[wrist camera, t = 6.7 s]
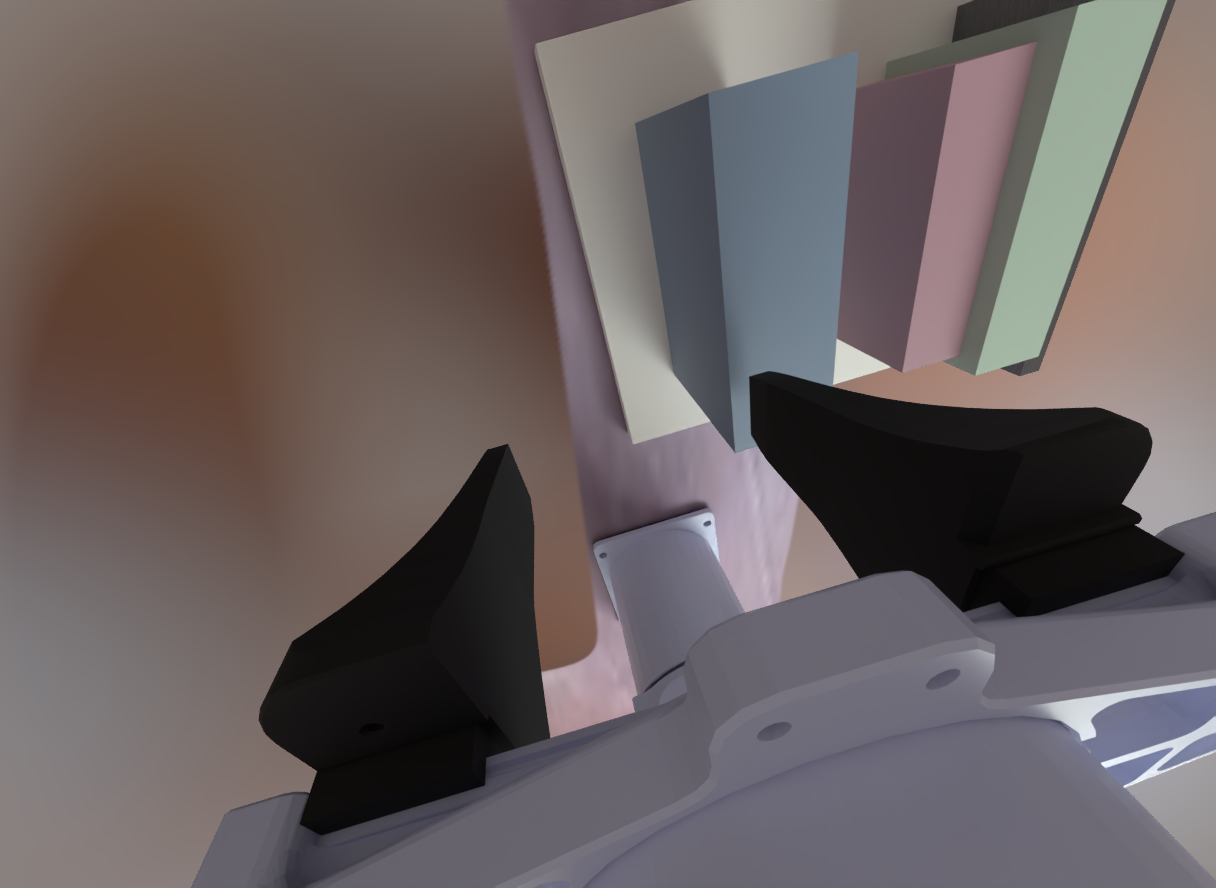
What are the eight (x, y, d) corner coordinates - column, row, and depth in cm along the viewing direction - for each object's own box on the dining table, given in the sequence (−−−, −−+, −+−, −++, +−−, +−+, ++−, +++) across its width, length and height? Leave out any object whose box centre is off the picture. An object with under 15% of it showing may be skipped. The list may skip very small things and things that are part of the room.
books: (907, 310, 21) (1038, 356, 16) (815, 337, 21) (916, 393, 16) (951, 43, 16) (1175, -23, 10) (826, 79, 16) (988, 30, 10)
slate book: (742, 354, 21) (830, 424, 15) (673, 374, 21) (735, 452, 15) (728, 97, 15) (859, 51, 9) (635, 123, 15) (708, 92, 9)
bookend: (919, 325, 22) (1038, 370, 17) (904, 329, 22) (1019, 376, 17) (979, 0, 15) (1206, -85, 10) (957, 6, 15) (1175, -76, 10)
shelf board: (902, 350, 24) (919, 358, 23) (628, 433, 24) (633, 444, 23) (973, -71, 15) (1006, -88, 14) (534, 52, 15) (535, 43, 14)
